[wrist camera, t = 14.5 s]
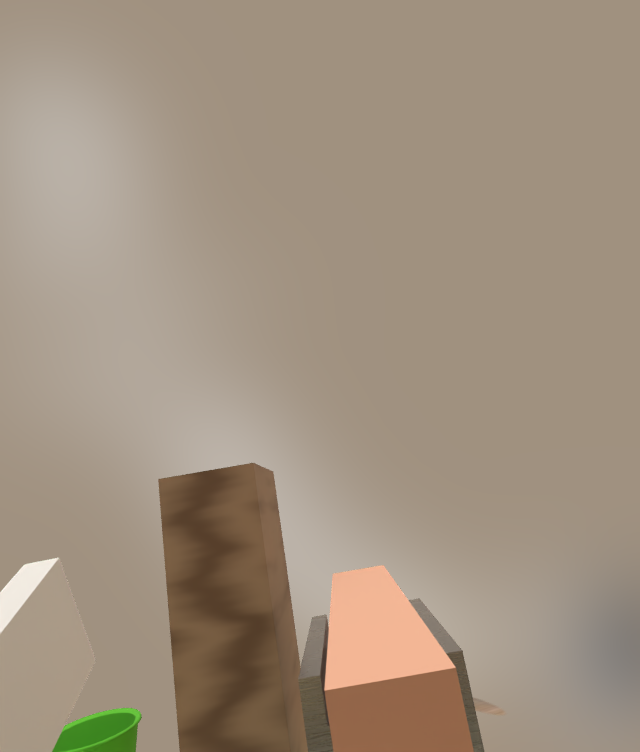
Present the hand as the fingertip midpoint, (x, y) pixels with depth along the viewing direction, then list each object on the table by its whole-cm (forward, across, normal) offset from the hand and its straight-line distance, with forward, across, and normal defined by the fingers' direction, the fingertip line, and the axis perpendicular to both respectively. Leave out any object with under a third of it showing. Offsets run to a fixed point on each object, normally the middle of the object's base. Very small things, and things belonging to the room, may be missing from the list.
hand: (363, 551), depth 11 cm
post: (+13, -10, -38) cm, 41 cm away
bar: (+11, 0, -15) cm, 19 cm away
